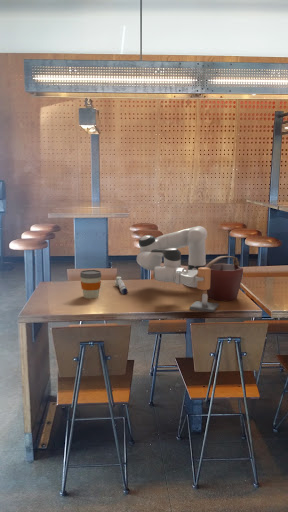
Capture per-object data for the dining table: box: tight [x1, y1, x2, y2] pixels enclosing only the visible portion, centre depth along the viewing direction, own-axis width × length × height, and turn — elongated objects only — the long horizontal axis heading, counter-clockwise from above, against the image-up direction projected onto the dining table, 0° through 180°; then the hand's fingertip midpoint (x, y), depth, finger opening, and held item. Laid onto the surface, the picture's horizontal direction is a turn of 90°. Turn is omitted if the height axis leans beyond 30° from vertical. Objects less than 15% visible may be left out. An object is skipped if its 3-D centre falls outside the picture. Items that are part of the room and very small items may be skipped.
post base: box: [189, 293, 220, 313], centre depth 246 cm, size 13×13×8 cm
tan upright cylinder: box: [196, 267, 211, 291], centre depth 244 cm, size 7×7×11 cm
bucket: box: [205, 255, 244, 302], centre depth 266 cm, size 24×22×25 cm
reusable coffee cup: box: [79, 269, 102, 299], centre depth 269 cm, size 13×13×15 cm
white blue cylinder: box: [114, 276, 129, 295], centre depth 288 cm, size 5×7×25 cm
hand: (205, 277), depth 244 cm, fingers closed on tan upright cylinder, 6 cm apart
